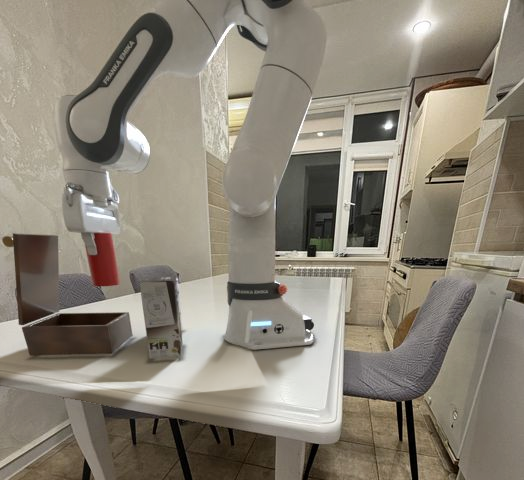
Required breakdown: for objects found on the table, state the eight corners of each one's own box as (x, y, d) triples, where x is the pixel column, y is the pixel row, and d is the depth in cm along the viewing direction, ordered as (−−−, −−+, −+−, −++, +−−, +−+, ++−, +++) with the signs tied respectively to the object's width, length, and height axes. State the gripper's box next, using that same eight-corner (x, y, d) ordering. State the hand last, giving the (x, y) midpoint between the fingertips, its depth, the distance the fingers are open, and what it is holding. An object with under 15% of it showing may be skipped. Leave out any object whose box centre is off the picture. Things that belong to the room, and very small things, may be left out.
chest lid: (58, 235, 64) (32, 230, 63) (17, 234, 52) (-16, 227, 52) (59, 311, 70) (35, 307, 69) (22, 325, 58) (-7, 320, 57)
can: (123, 283, 75) (115, 233, 71) (114, 286, 69) (104, 232, 65) (99, 283, 75) (90, 233, 70) (88, 286, 69) (77, 232, 65)
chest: (133, 338, 73) (129, 312, 71) (112, 356, 62) (106, 325, 59) (64, 339, 72) (58, 313, 70) (30, 358, 60) (21, 327, 58)
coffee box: (182, 359, 60) (174, 280, 54) (149, 362, 59) (137, 281, 53) (183, 345, 68) (177, 275, 63) (155, 347, 67) (145, 276, 62)
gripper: (80, 180, 55) (94, 256, 60) (121, 196, 74) (129, 253, 79) (45, 179, 55) (62, 256, 60) (95, 196, 74) (105, 253, 79)
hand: (101, 254), depth 70 cm, fingers closed on can, 6 cm apart
